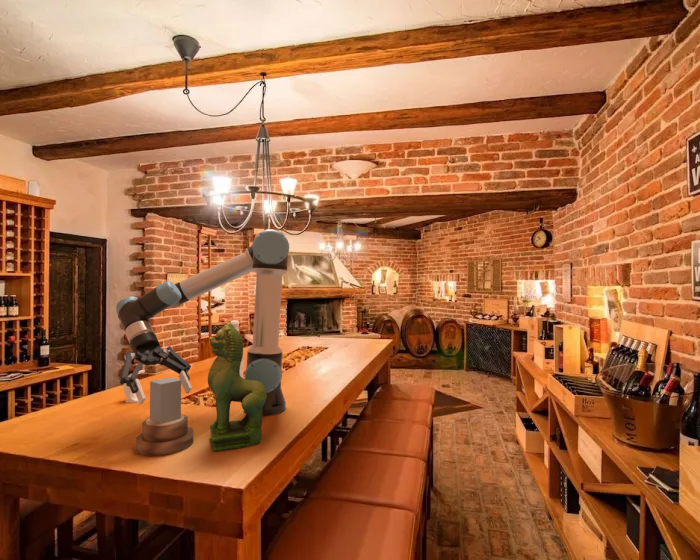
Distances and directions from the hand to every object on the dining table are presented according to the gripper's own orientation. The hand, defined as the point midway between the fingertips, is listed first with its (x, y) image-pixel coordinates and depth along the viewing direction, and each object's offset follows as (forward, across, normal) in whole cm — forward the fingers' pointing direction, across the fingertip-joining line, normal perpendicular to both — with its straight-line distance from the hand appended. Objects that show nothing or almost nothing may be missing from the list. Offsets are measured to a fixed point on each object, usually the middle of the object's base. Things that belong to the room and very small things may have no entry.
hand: (167, 395), depth 113 cm
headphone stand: (-28, -15, -48) cm, 58 cm away
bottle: (-19, -54, -40) cm, 69 cm away
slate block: (+4, 0, -6) cm, 7 cm away
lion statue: (+19, -14, -1) cm, 24 cm away
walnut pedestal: (+9, 0, -11) cm, 14 cm away
